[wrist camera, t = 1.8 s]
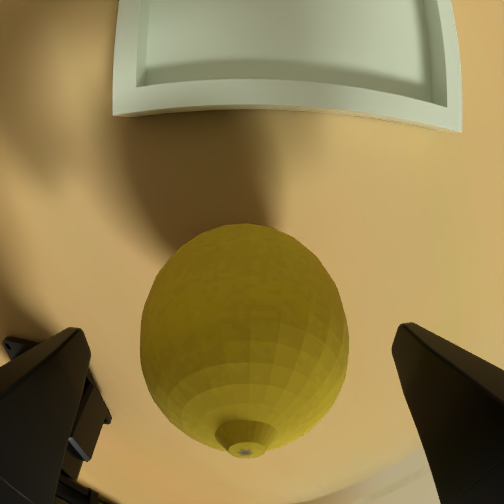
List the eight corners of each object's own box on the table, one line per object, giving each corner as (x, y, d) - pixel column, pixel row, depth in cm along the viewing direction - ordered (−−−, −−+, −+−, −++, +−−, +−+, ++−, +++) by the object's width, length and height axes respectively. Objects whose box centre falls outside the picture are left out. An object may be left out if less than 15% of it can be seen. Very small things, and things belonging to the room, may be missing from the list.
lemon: (203, 174, 10) (118, 277, 3) (335, 233, 11) (450, 382, 4) (157, 295, 12) (92, 461, 5) (273, 338, 13) (297, 503, 6)
